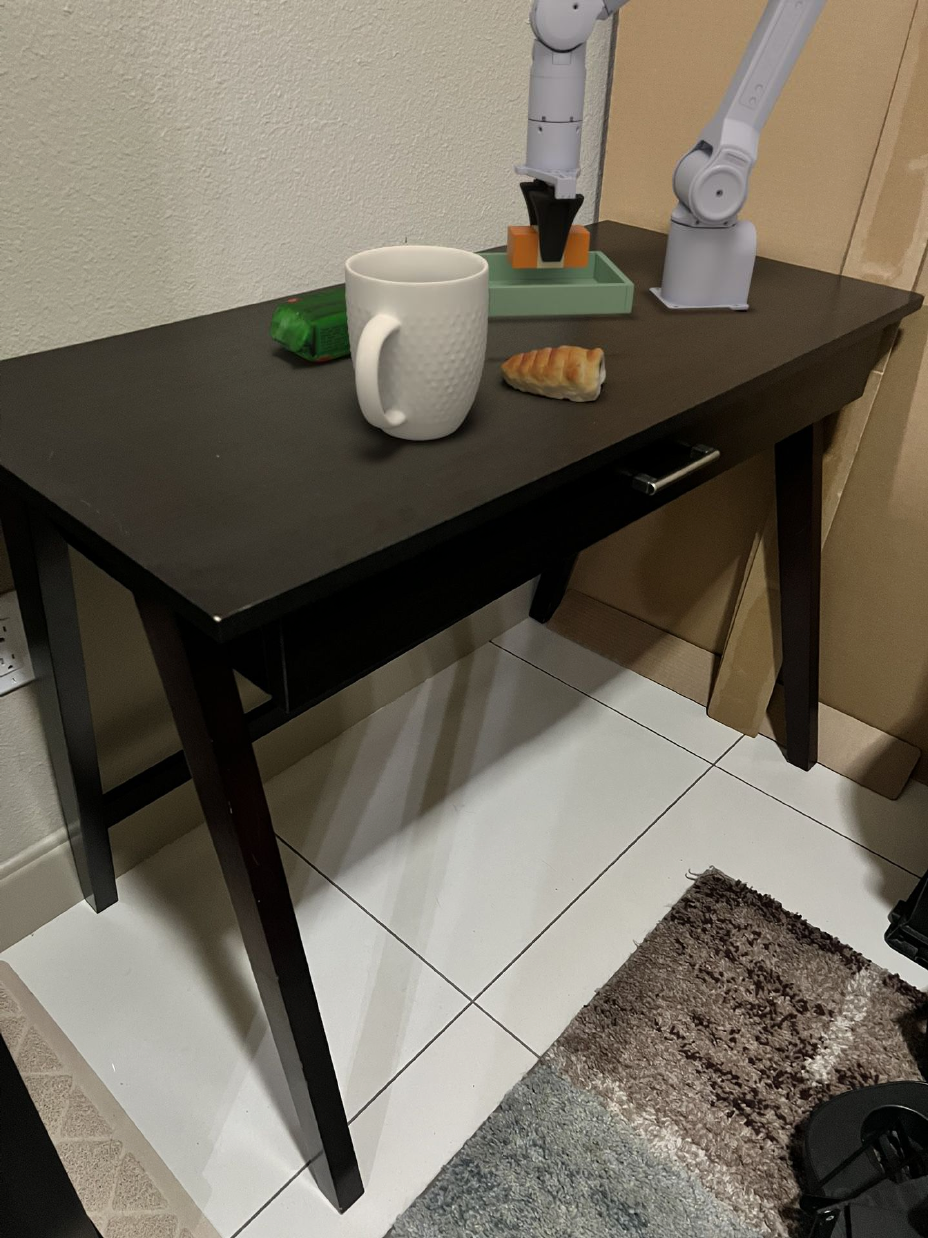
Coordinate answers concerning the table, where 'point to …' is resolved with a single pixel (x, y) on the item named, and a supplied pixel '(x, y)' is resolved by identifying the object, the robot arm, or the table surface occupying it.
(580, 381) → the pastry
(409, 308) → the mug
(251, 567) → the table surface
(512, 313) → the tub
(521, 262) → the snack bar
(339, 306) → the snack package
